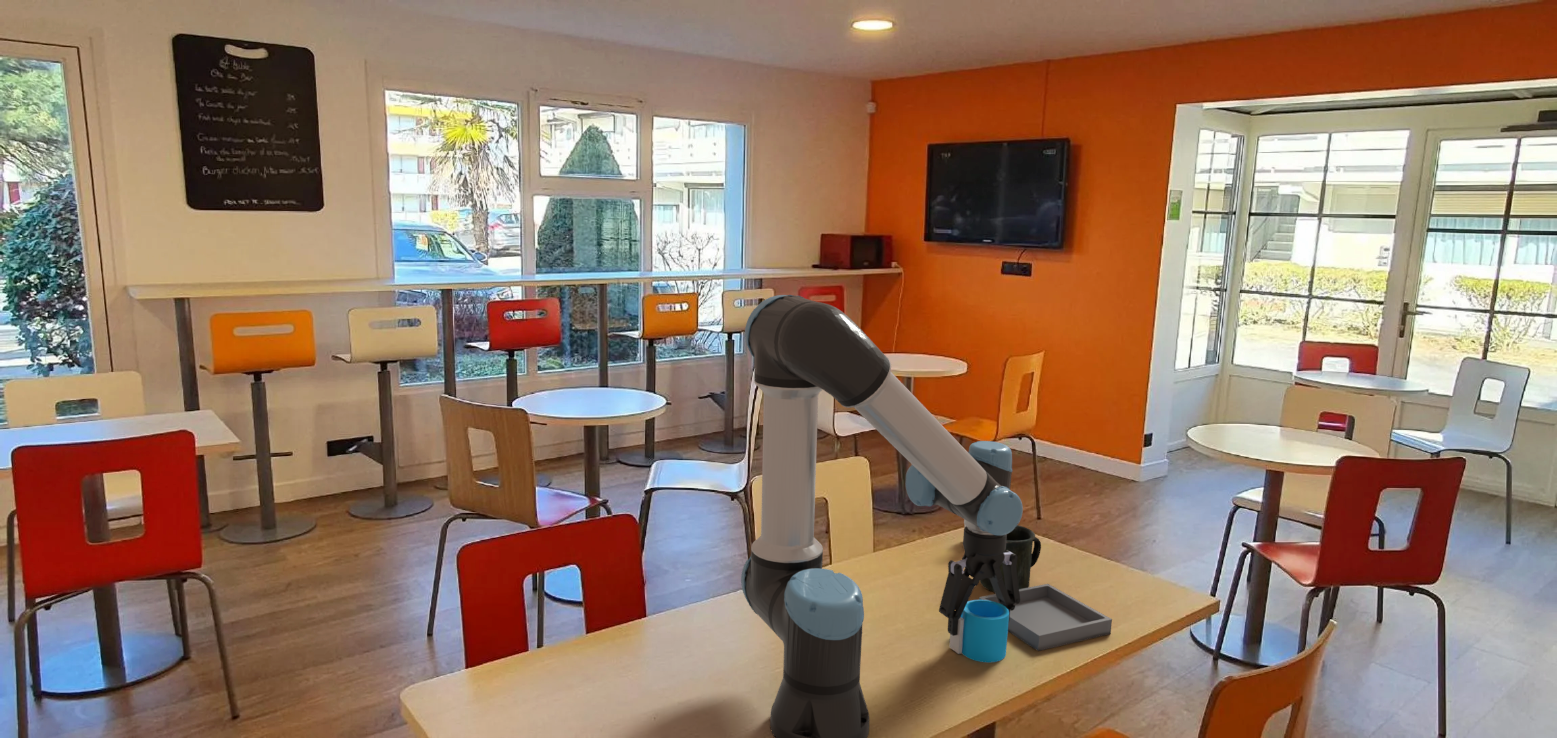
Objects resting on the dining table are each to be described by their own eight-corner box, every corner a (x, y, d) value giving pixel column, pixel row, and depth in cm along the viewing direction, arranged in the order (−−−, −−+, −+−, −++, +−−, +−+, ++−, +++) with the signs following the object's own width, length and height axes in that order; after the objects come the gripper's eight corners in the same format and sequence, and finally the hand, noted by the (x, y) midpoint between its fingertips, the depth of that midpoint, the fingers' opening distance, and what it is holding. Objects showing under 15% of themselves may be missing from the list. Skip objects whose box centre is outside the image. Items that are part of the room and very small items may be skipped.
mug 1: (1015, 659, 164) (1018, 616, 162) (975, 665, 161) (978, 622, 160) (978, 629, 175) (981, 589, 174) (941, 634, 172) (943, 594, 171)
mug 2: (966, 580, 198) (970, 527, 195) (1019, 569, 204) (1023, 518, 202) (1000, 600, 188) (1004, 544, 186) (1054, 588, 195) (1058, 534, 192)
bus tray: (1038, 651, 167) (1039, 635, 166) (977, 611, 183) (978, 597, 182) (1110, 633, 174) (1112, 619, 174) (1046, 597, 190) (1048, 583, 189)
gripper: (947, 543, 156) (940, 666, 160) (1047, 527, 165) (1038, 643, 169) (922, 529, 163) (915, 647, 167) (1019, 513, 172) (1011, 625, 176)
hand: (977, 645), depth 168 cm, fingers open, 9 cm apart
